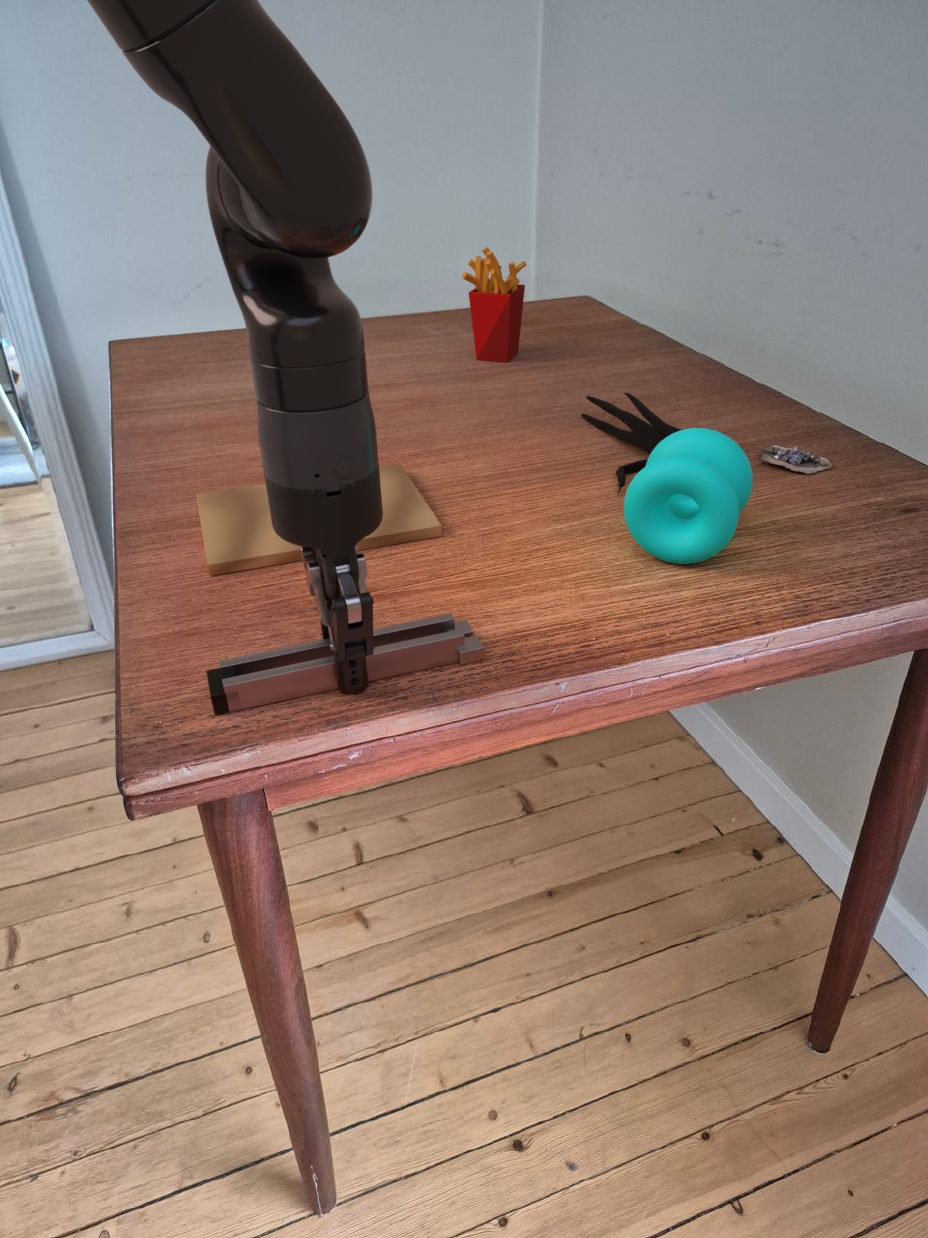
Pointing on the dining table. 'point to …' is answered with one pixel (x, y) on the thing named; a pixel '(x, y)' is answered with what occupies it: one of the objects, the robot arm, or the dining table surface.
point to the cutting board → (249, 541)
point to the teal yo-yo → (689, 496)
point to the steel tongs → (315, 669)
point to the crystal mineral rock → (794, 459)
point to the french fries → (495, 308)
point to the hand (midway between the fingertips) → (346, 670)
